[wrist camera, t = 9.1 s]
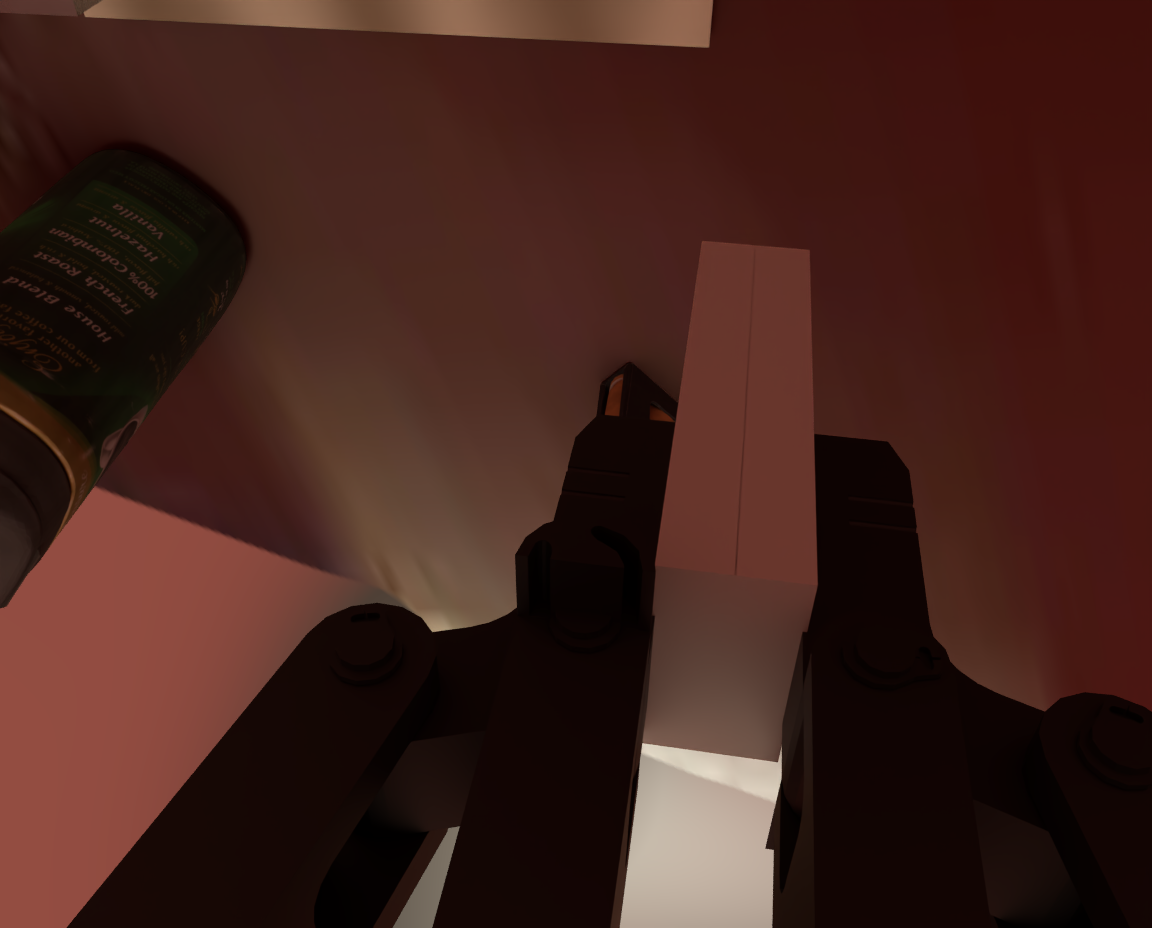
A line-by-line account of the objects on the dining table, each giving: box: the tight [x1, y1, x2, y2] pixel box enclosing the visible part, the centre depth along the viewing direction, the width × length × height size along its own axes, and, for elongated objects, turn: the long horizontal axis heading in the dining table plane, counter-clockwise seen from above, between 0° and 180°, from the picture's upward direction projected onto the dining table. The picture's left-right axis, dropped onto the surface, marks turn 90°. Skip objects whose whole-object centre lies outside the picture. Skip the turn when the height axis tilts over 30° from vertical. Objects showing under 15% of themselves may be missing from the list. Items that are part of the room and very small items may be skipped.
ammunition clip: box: [597, 363, 678, 422], centre depth 43 cm, size 11×2×12 cm, turn 47°
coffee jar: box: [0, 149, 246, 608], centre depth 37 cm, size 10×8×19 cm
